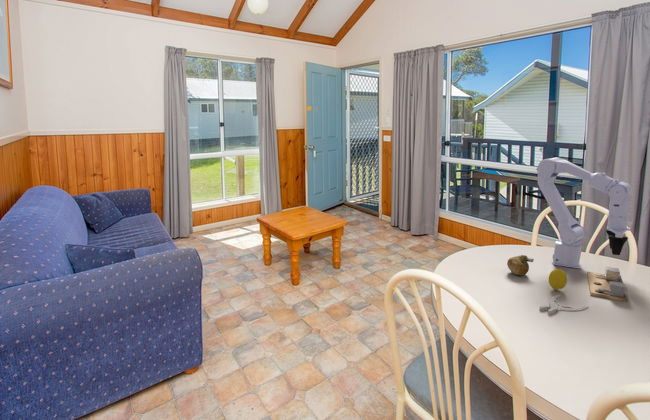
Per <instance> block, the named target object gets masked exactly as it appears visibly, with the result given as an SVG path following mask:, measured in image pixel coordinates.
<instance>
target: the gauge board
mask: <svg viewBox="0 0 650 420" xmlns="http://www.w3.org/2000/svg"><path fill="white" fill-rule="evenodd" d="M586 274H587V279H588V280H587V281H588V290H589V295H590V296H593V297H598V298H604V299H609V300H610V299H611V300H615V301H620V302H626V303H627V302H628V293H627V291H626V289H625V292H624V297H618V296H613V295H609V293H608V292H602V291H598V289H605V290H608V288H609V283H610V281H613V280H607V279H605V277H599V276H595V275H596V274H601V275H605V273H598V272H594V271H593V272H592V271H587V273H586ZM614 282H620V283H624V282H623V278H622V275H621V274H620V275H619V281H614Z"/></svg>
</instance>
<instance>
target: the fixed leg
mask: <svg viewBox="0 0 650 420" xmlns="http://www.w3.org/2000/svg"><path fill="white" fill-rule="evenodd" d="M625 290H626V286H625V283H624V282H623V283H620V282H614V281H610V283H609V288H608V290H605V289H598V291H602V292H608V293H609V295H613V296H618V297H624V292H625Z"/></svg>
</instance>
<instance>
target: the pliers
mask: <svg viewBox="0 0 650 420" xmlns="http://www.w3.org/2000/svg"><path fill="white" fill-rule="evenodd" d="M561 296H562V295H561V294H556V295H553V296H551V298H550V299H549V301H548V302H549V303H548V304H544V305H541V306H539V309H538V311H541V312H543V311H547V315H549V316H551V315H552V314H555V313H556V312H561V311H563V312H580V311H585V310H587V309H588V308H589V306H588V305H586V306H585V305H584V306H581V307H574V306H573V307H572V306H568V305H562V306H561V307H559V306H560V303H559V301H558V300H557V299H558V298H560V297H561ZM556 304H557V305H556Z"/></svg>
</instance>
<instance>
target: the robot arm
mask: <svg viewBox="0 0 650 420" xmlns="http://www.w3.org/2000/svg"><path fill="white" fill-rule="evenodd" d="M535 171H537V185H538V187H539V190H540V191H541V193H542V195H543V197H544V198H545V200H546V202H547V203H548V204H547V205H548V207H550V210H551V212H552V213H553V215H554V218H555V220H556V221H557V223H558V227H557V230H558V232H559V238H560V241H559V240H557V241H555V244H554V250H553V251H554V252H553V254H552V258H551V259H552V264H553V266H559V267H566V268H567V267H568V268H571V269H579V270H580V269H581V268H582V267H581V265H582V264H581V257H582V250H583V240H584V239H585V237H586V236H587V231H586V229H585V227H583V226H582V225H581V224H580V223H579V221H578V220H577V219H576V218H574V217H573V215H572V214H571V212H570V210H569V208H568V206H567V204H566V203H565V201H564V199H563V198H562V195H561V193H560V192H559V189H558V188H557V187H556V185H555V181H556V179H557V176H558V175H559V174H565V173H566V174H569V175H572V176H574V177H576V178H579V179H581V180H584V181H586V182H587V183H588V186H589V187H590V188H593V189H595V190H597V191H600V192H602V193H603V194H606V195H607V196H608V197H609V206H608V215H607V216H608V218H607V226H606V229H605V232H606V234H607V236H608V244H609V248H610V250H611V253H612V255H614V256H620V255H621V252H622V250H623V248H624V245H625V244H626V242H628V239H629V237H628V236H623V235H624V233H626V232H627V231H628V232H629V231H630V232H631V231H632V229H631V227H628V220H629V209H630V196H631V195H632V193H633V187H632V185H631V184H630V183H628V182H627V181H620V179H618V178H616V179H615V178H613V177H610V176H608V175H607V173H606V172H595V173H593V172H592V171H588V170H586V169H584V168H582V167H581V166H578V165H577V164H574V163H573V162H570V161H569V160H567V159H564V158H563V159H562V158H561V157H558V156H555V157H552V158H551V157H550V158H545V159H542V160H540V161H539V163H538V165H537V167H536V170H535Z"/></svg>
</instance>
